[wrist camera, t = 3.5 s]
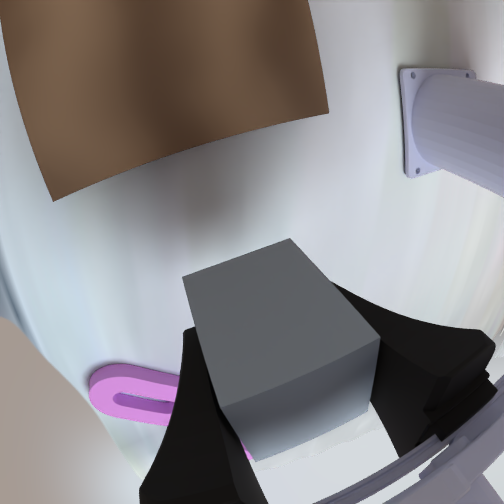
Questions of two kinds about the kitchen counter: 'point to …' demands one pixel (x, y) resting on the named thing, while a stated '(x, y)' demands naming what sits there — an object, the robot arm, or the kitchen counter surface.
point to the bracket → (135, 382)
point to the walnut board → (153, 78)
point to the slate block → (281, 347)
